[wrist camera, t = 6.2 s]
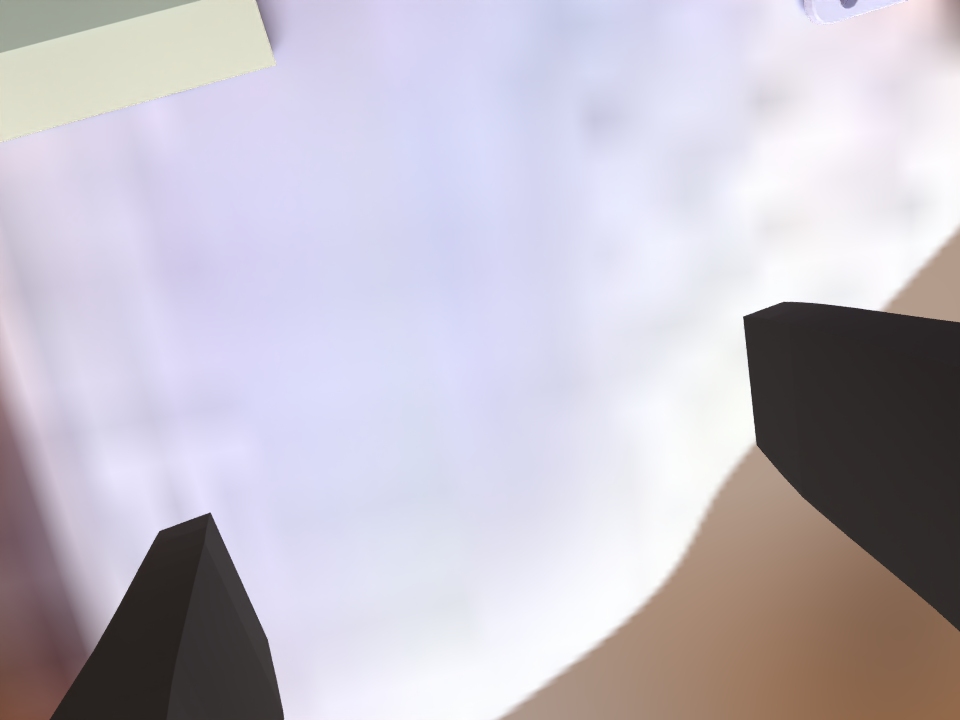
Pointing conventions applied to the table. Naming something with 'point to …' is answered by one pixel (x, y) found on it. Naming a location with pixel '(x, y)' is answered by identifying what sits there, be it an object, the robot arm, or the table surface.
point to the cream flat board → (117, 55)
